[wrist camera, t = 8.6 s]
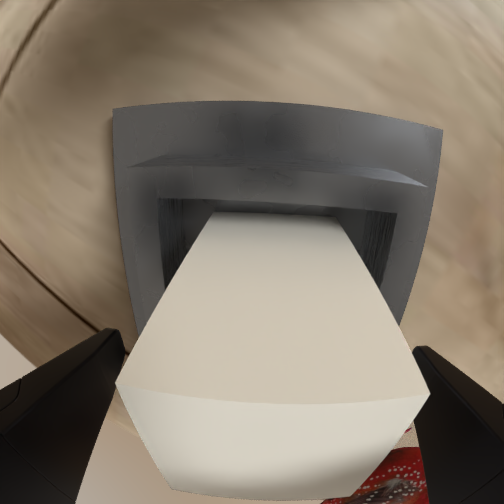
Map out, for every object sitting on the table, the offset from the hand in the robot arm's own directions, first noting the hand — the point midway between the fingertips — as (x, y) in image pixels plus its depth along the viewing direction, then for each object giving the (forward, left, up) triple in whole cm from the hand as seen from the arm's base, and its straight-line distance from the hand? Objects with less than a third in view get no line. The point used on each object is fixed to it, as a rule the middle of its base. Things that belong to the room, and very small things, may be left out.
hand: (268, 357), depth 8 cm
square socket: (0, 0, -6) cm, 7 cm away
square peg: (0, 0, -6) cm, 6 cm away
